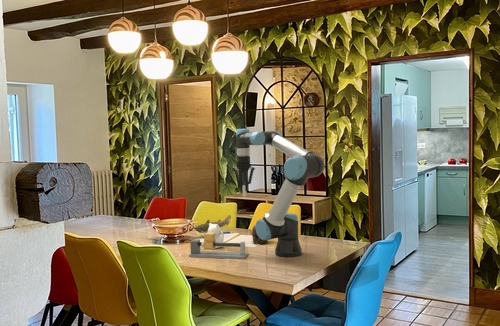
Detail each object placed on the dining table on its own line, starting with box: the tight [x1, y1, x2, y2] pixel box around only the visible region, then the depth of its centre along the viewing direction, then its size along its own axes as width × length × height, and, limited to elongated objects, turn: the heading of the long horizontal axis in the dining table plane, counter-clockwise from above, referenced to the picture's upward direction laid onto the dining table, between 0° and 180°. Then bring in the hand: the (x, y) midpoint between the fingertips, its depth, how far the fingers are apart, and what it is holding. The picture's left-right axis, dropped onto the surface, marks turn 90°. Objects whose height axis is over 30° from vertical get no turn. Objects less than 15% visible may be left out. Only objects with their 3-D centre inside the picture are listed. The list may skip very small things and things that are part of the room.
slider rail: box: [188, 238, 249, 260], centre depth 284 cm, size 32×10×8 cm, turn 75°
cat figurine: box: [208, 222, 225, 250], centre depth 305 cm, size 9×12×15 cm
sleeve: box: [203, 232, 217, 251], centre depth 285 cm, size 5×5×9 cm
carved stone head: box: [251, 225, 268, 245], centre depth 313 cm, size 11×11×12 cm
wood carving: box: [193, 214, 232, 234], centre depth 343 cm, size 9×35×11 cm, turn 139°
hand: (244, 196), depth 290 cm, fingers closed
